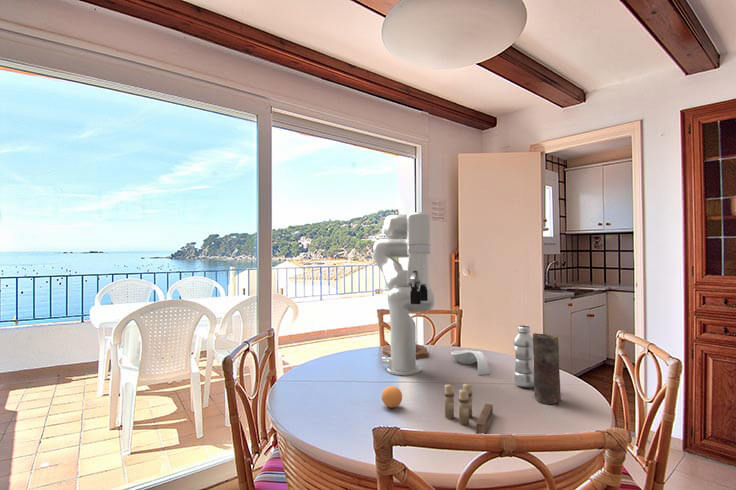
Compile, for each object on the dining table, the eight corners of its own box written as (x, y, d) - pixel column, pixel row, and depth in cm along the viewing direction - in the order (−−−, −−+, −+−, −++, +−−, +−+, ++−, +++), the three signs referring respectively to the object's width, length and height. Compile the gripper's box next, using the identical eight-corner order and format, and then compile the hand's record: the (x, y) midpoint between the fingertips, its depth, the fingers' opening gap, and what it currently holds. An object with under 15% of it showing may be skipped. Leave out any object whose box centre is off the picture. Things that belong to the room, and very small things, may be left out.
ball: (378, 408, 116) (378, 388, 116) (386, 401, 121) (386, 381, 121) (397, 412, 113) (397, 391, 113) (405, 404, 119) (405, 384, 119)
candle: (529, 395, 125) (528, 331, 125) (551, 395, 126) (550, 331, 126) (542, 405, 117) (541, 337, 118) (565, 404, 118) (564, 336, 118)
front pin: (443, 417, 109) (443, 386, 110) (446, 414, 112) (445, 383, 112) (452, 419, 108) (452, 387, 108) (455, 415, 111) (454, 385, 111)
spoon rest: (447, 359, 168) (447, 342, 168) (473, 357, 170) (473, 340, 170) (469, 376, 145) (469, 356, 145) (500, 374, 147) (500, 355, 147)
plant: (388, 361, 166) (388, 334, 166) (379, 350, 185) (379, 325, 185) (435, 359, 169) (434, 332, 169) (421, 348, 188) (420, 324, 188)
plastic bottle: (537, 390, 130) (536, 328, 130) (515, 389, 131) (514, 328, 131) (533, 383, 136) (532, 324, 136) (512, 382, 137) (511, 324, 138)
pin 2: (458, 424, 105) (457, 392, 105) (460, 420, 108) (459, 388, 108) (467, 426, 104) (467, 393, 104) (469, 422, 106) (469, 390, 107)
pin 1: (462, 417, 110) (461, 386, 110) (464, 413, 112) (463, 383, 112) (471, 418, 109) (471, 387, 109) (473, 415, 111) (472, 384, 111)
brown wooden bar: (476, 433, 100) (476, 423, 100) (485, 412, 113) (485, 403, 113) (484, 434, 99) (484, 424, 99) (492, 413, 112) (492, 404, 112)
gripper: (414, 250, 141) (414, 299, 141) (400, 250, 125) (400, 305, 125) (435, 250, 138) (436, 299, 138) (423, 249, 122) (424, 305, 122)
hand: (419, 302), depth 131 cm, fingers open, 9 cm apart
